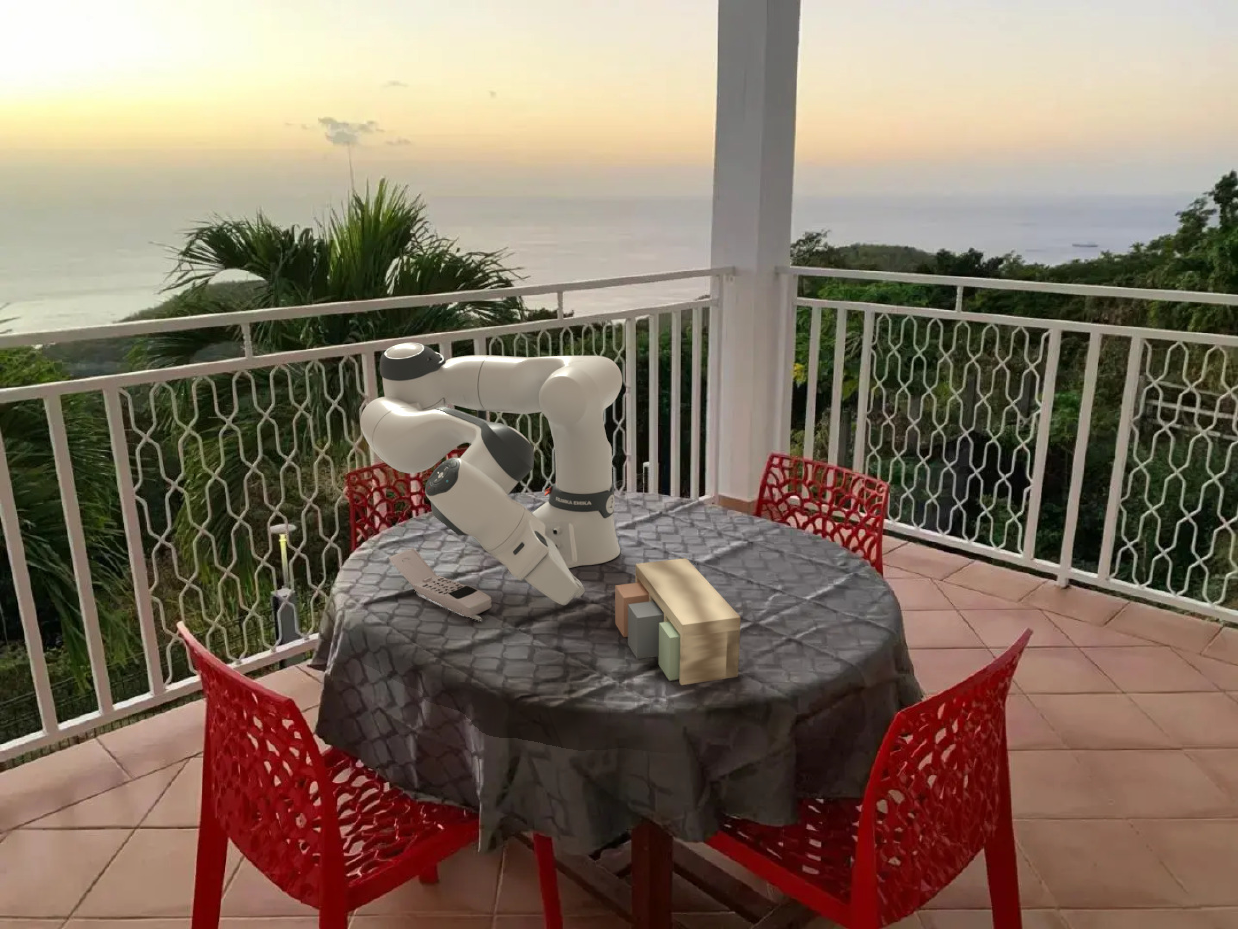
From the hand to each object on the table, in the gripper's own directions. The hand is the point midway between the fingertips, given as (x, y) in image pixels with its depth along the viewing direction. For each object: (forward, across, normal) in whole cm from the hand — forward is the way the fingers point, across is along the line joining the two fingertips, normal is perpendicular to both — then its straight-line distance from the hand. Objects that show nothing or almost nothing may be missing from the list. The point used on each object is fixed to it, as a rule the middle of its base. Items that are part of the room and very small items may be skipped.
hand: (580, 590), depth 144 cm
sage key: (+15, +14, +4) cm, 21 cm away
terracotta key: (+14, -1, +2) cm, 14 cm away
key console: (+17, +7, +5) cm, 19 cm away
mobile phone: (-8, -22, -21) cm, 31 cm away
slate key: (+14, +7, +2) cm, 15 cm away
